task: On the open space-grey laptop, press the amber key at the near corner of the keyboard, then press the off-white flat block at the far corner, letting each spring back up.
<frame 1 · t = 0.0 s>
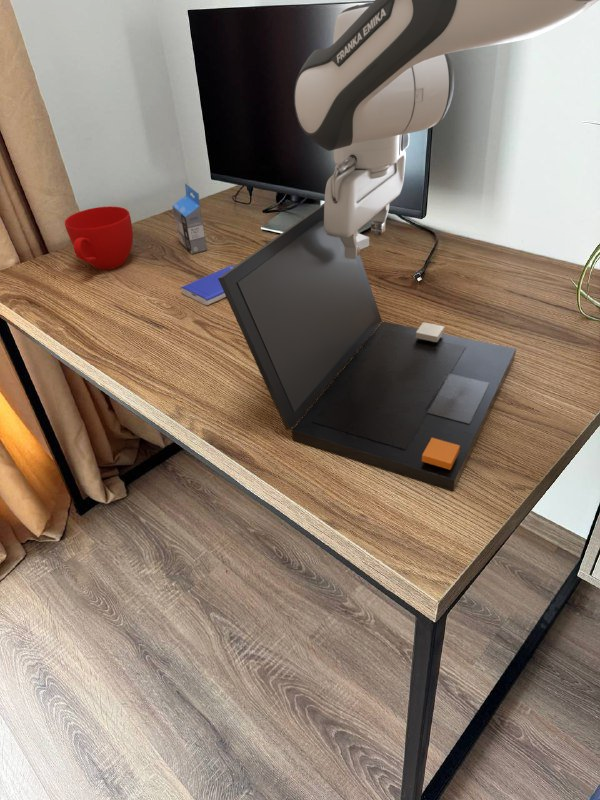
hand: (365, 244, 87), 15 cm above the table, tool pointing down, fingers open, 8 cm apart
key amber: (440, 453, 68), point 3 cm above the table, slide at 0.0 cm
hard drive: (220, 289, 112), on the table
laptop: (411, 396, 81), on the table
off-white flat block: (429, 332, 89), point 3 cm above the table, slide at 0.0 cm
mounting plate: (326, 247, 125), on the table
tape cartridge: (193, 246, 130), on the table
laptop screen: (315, 303, 80), point 12 cm above the table, hinge at 110.0°
ceramic cup: (105, 267, 124), on the table
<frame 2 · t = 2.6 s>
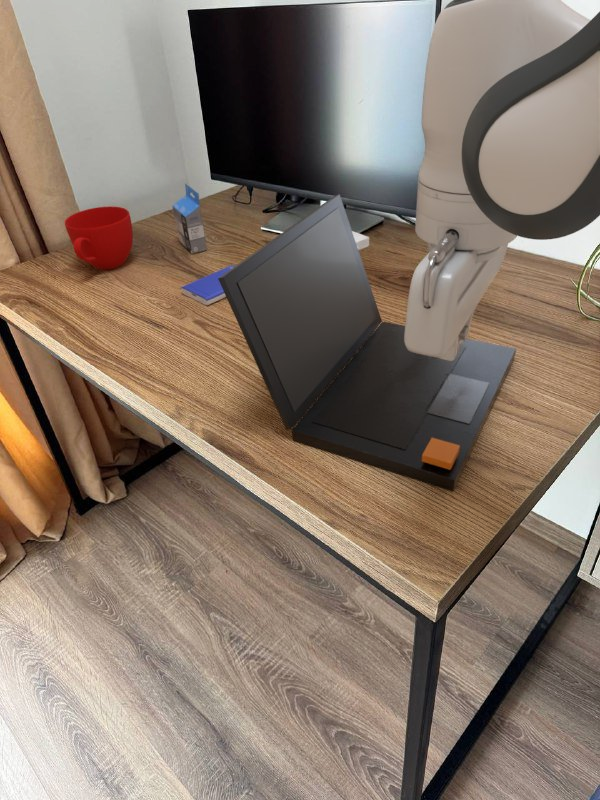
hand: (452, 348, 59), 17 cm above the table, tool pointing down, fingers closed
nothing on the table moved.
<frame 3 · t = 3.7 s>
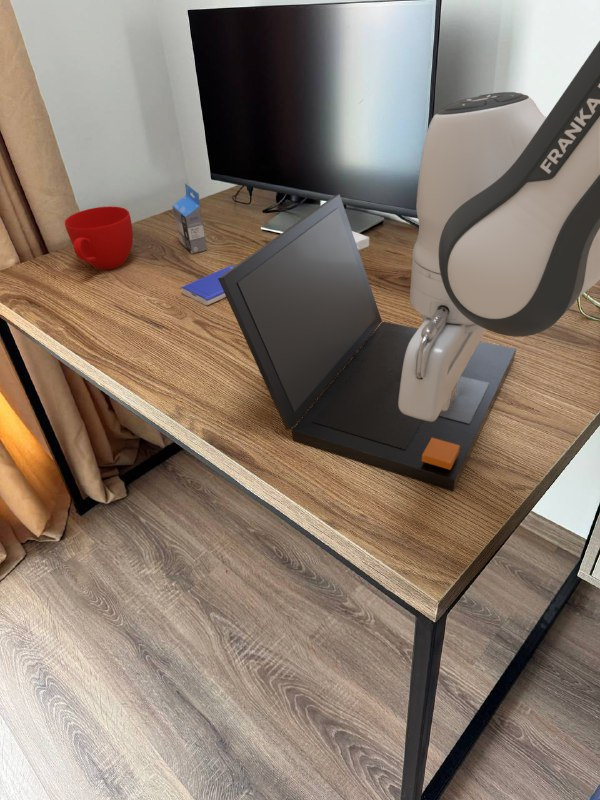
hand: (443, 402, 63), 10 cm above the table, tool pointing down, fingers closed
nothing on the table moved.
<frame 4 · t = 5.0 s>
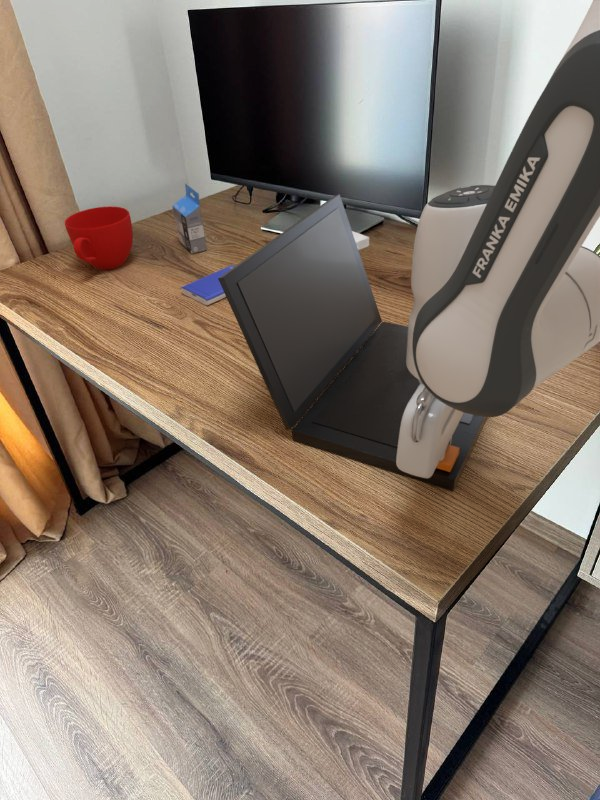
hand: (439, 452, 67), 3 cm above the table, tool pointing down, fingers closed, pressing on key amber
key amber: (440, 455, 68), point 2 cm above the table, slide at -0.3 cm, touching gripper
everything else where it was.
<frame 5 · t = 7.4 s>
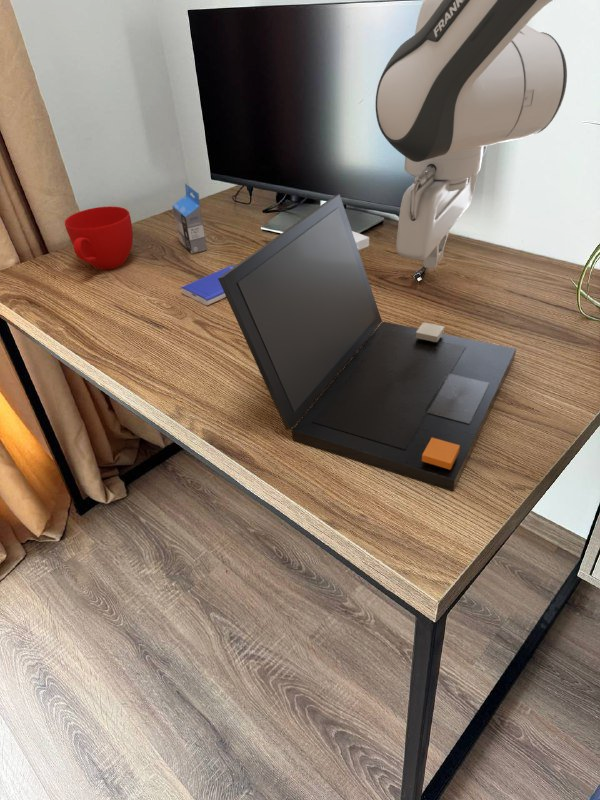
hand: (432, 264, 77), 16 cm above the table, tool pointing down, fingers closed
key amber: (440, 453, 68), point 3 cm above the table, slide at 0.0 cm
everything else where it was.
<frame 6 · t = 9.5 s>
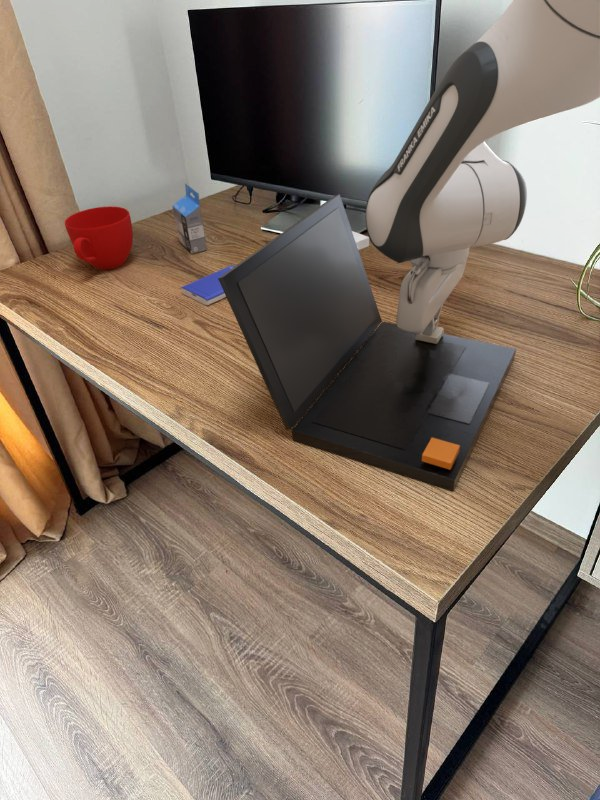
hand: (429, 330, 89), 3 cm above the table, tool pointing down, fingers closed, pressing on off-white flat block
off-white flat block: (429, 333, 89), point 3 cm above the table, slide at -0.3 cm, touching gripper
everything else where it was.
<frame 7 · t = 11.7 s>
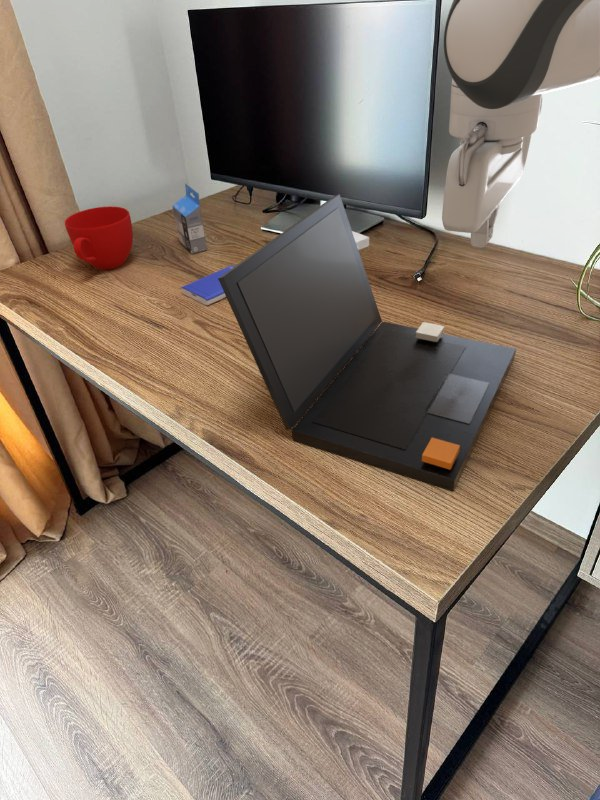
hand: (481, 243, 68), 22 cm above the table, tool pointing down, fingers closed
off-white flat block: (429, 331, 89), point 3 cm above the table, slide at 0.1 cm
everything else where it was.
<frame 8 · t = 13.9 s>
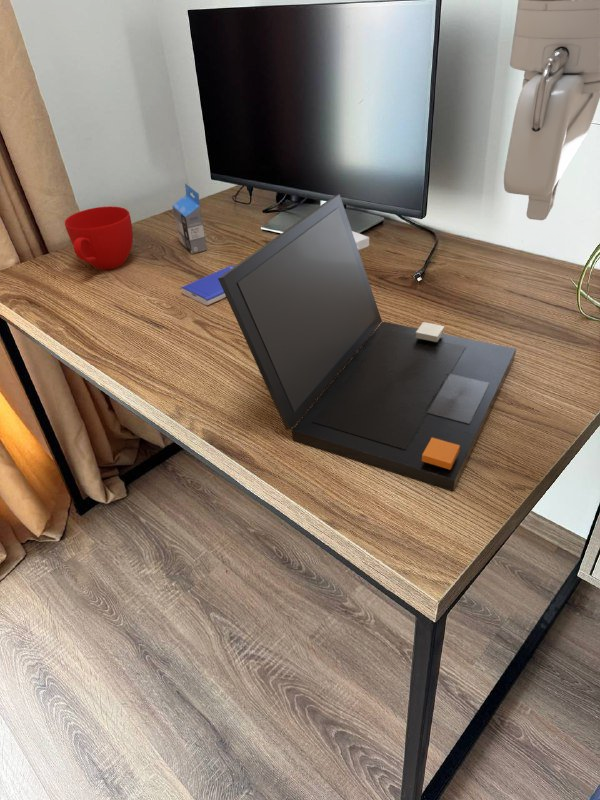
hand: (538, 214, 54), 29 cm above the table, tool pointing down, fingers closed
nothing on the table moved.
at the end: key amber pushed in 0.4 cm at the most during the clip, back to where it started at the end; off-white flat block pushed in 0.4 cm at the most during the clip, back to where it started at the end; off-white flat block slide at 0.1 cm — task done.
